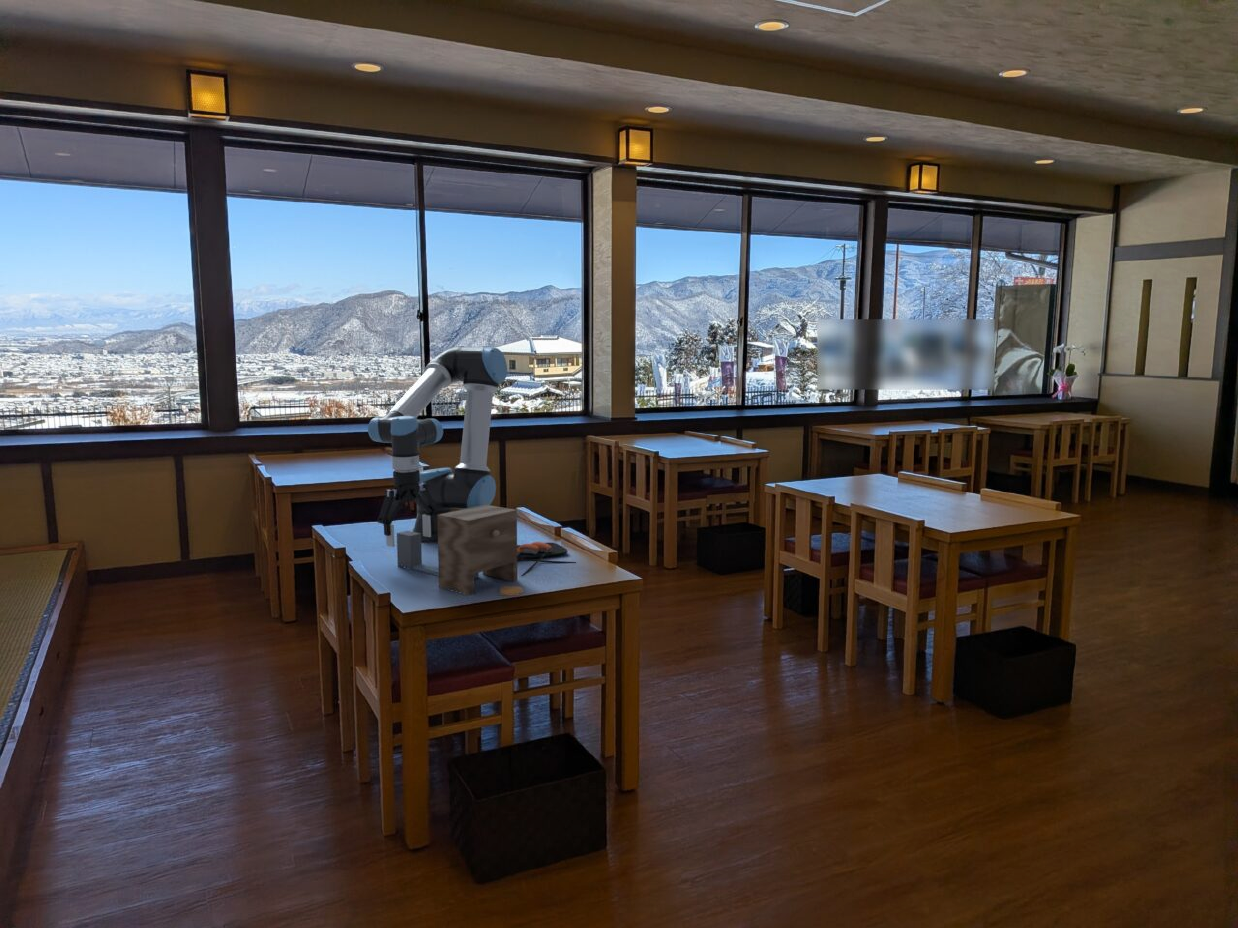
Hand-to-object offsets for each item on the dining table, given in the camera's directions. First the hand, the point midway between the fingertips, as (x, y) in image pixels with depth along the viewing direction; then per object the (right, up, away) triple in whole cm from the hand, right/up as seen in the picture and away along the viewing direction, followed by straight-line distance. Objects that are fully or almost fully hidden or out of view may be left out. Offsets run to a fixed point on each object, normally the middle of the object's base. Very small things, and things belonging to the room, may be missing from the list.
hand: (409, 541), depth 251 cm
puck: (+33, -12, -24) cm, 42 cm away
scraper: (+9, -8, -6) cm, 13 cm away
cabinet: (+23, -10, -16) cm, 30 cm away
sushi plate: (+34, -7, +8) cm, 36 cm away
